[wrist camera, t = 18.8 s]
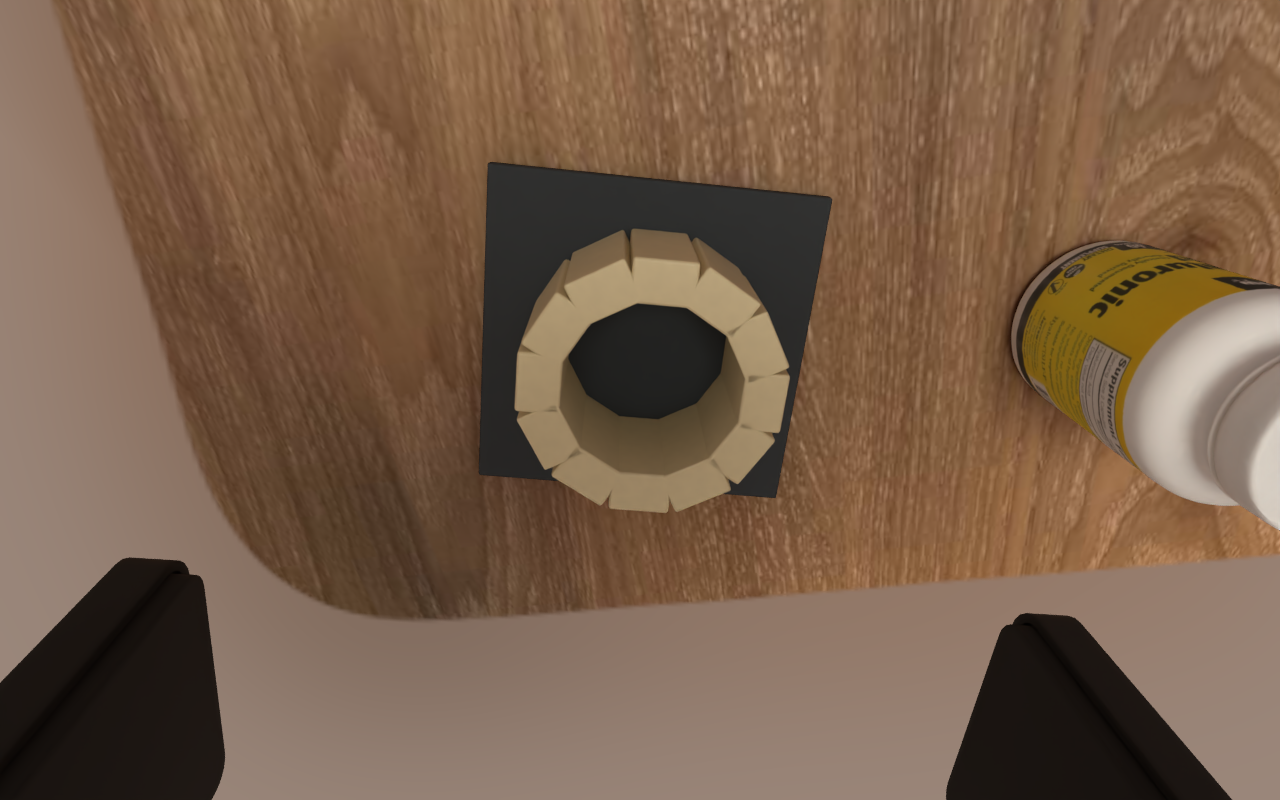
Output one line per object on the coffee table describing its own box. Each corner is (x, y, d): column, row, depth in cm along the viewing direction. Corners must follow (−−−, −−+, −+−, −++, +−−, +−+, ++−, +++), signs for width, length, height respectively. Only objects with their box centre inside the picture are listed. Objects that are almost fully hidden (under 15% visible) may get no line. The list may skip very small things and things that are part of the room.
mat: (480, 469, 27) (478, 475, 26) (489, 161, 23) (487, 163, 23) (774, 492, 27) (776, 498, 27) (829, 196, 24) (832, 198, 23)
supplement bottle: (1186, 223, 24) (1528, 313, 15) (1166, 388, 26) (1456, 554, 17) (1007, 249, 24) (1238, 352, 15) (1001, 410, 26) (1201, 587, 17)
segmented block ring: (525, 441, 26) (509, 502, 22) (537, 218, 23) (521, 246, 19) (743, 458, 26) (764, 521, 23) (780, 242, 24) (810, 273, 20)
